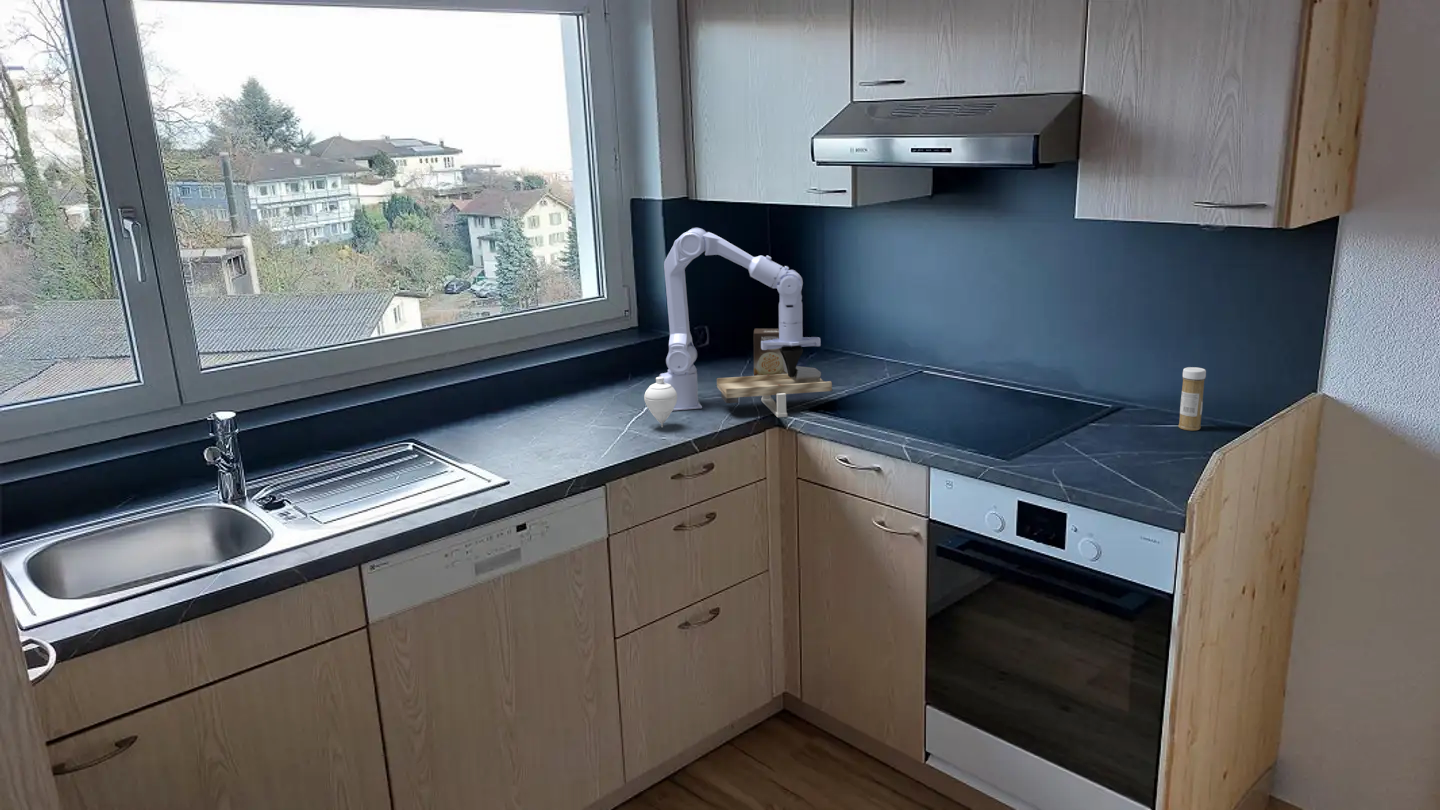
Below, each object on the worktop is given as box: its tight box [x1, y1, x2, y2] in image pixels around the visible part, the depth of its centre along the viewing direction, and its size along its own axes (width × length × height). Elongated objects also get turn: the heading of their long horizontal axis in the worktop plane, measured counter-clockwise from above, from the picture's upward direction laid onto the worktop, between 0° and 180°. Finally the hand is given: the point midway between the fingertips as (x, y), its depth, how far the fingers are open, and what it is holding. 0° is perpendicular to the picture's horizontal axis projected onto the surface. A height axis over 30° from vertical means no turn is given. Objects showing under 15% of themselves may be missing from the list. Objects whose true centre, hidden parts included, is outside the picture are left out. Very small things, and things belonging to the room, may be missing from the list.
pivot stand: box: [760, 393, 788, 418], centre depth 248 cm, size 2×16×6 cm, turn 12°
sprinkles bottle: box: [1178, 366, 1207, 431], centre depth 221 cm, size 5×5×13 cm
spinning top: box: [643, 376, 677, 428], centre depth 235 cm, size 8×8×12 cm
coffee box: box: [753, 328, 788, 376], centre depth 265 cm, size 9×6×16 cm
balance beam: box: [716, 374, 833, 404], centre depth 248 cm, size 26×13×4 cm, turn 102°
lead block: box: [790, 365, 822, 383], centre depth 249 cm, size 6×5×3 cm
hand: (791, 376), depth 248 cm, fingers closed
